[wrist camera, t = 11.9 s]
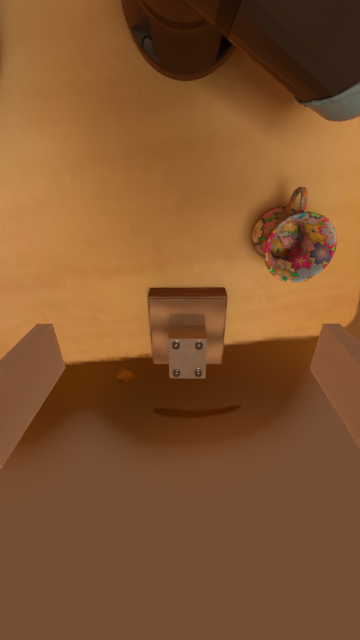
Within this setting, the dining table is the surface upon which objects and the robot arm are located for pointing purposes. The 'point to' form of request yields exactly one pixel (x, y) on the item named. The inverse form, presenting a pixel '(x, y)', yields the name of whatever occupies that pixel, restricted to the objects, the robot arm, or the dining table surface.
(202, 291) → the stand
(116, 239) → the dining table surface
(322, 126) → the dining table surface
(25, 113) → the dining table surface
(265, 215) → the mug
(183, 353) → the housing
